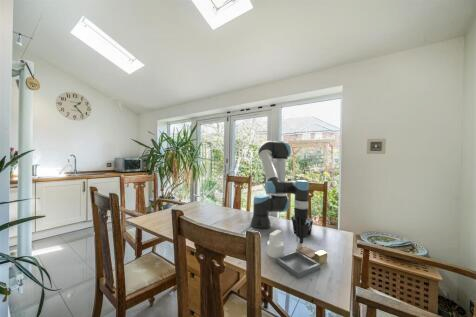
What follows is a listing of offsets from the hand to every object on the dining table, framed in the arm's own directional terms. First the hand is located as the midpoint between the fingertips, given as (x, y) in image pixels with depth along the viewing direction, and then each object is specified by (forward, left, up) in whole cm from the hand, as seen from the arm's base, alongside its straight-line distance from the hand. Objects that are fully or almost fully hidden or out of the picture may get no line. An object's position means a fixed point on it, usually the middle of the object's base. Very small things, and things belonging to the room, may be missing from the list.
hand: (299, 248), depth 116 cm
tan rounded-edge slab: (+6, 0, -2) cm, 6 cm away
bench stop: (+14, 0, -2) cm, 14 cm away
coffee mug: (-16, +22, -2) cm, 27 cm away
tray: (+10, -13, -2) cm, 17 cm away
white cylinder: (-4, -15, -2) cm, 16 cm away
